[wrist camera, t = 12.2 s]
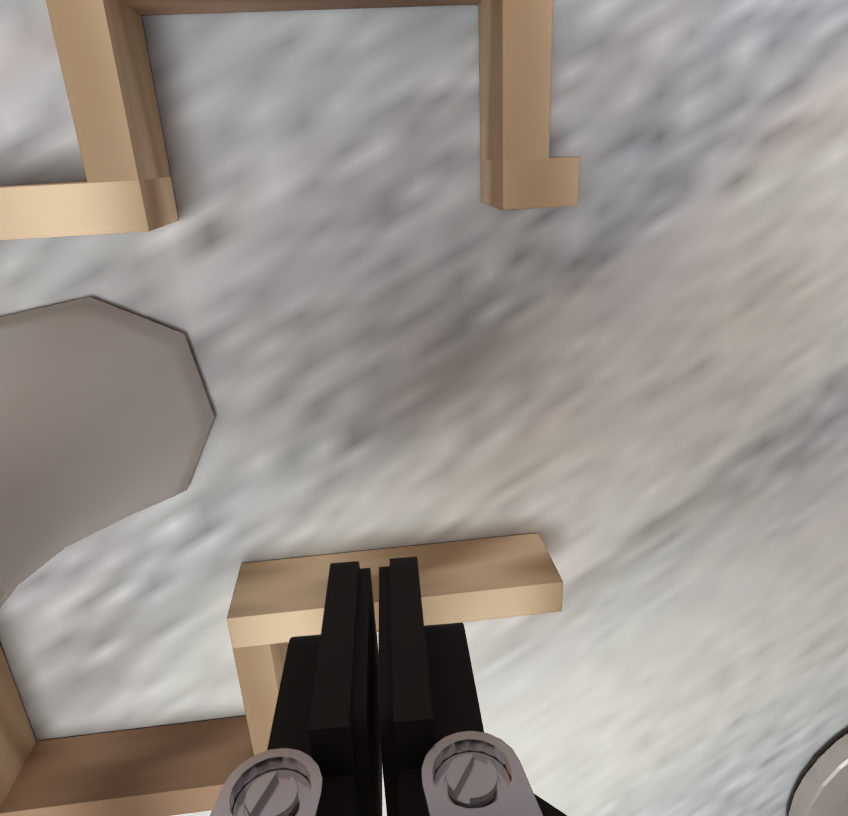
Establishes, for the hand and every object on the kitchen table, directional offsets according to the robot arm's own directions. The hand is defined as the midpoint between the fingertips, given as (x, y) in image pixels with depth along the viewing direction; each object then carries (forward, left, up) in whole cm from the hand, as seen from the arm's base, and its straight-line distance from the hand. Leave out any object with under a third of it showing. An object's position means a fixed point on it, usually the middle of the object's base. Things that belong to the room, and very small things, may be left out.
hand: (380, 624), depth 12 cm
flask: (+9, -1, -11) cm, 14 cm away
